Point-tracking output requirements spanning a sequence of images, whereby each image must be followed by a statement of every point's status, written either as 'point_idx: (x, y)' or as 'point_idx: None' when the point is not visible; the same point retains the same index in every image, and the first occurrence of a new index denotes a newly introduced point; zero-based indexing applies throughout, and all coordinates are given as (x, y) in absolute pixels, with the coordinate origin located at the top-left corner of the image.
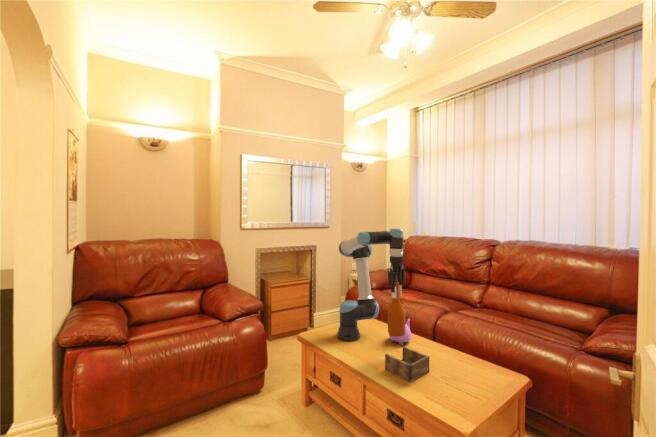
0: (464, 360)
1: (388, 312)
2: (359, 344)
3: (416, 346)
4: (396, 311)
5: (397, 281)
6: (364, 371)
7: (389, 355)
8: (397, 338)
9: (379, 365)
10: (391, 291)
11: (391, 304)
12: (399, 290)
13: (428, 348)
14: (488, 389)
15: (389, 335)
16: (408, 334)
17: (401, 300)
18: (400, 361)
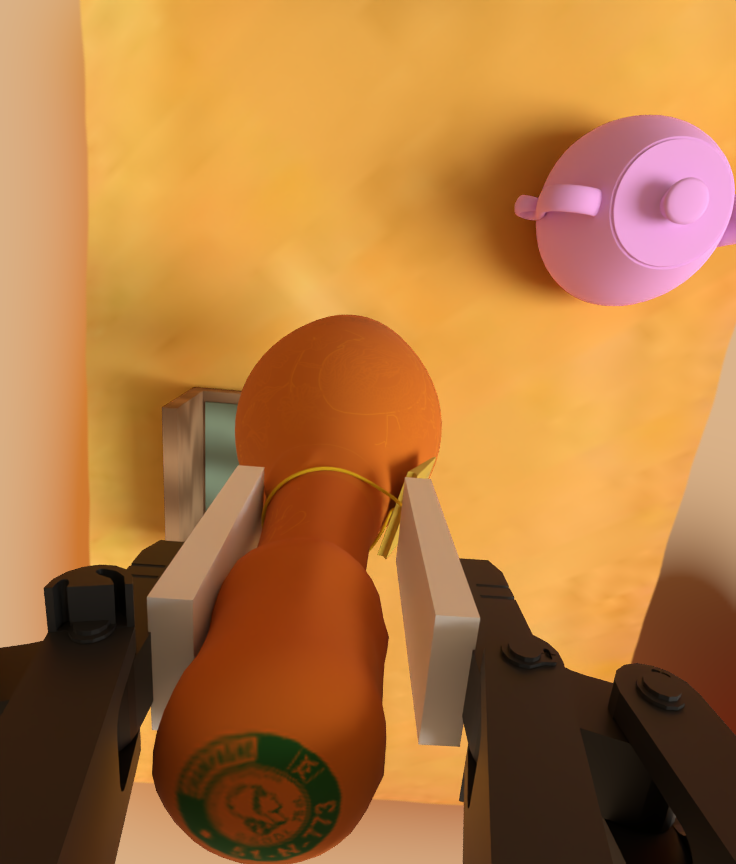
0: (584, 610)
1: (251, 374)
2: (344, 19)
3: (590, 353)
4: None
5: (326, 828)
6: (90, 315)
7: (174, 432)
8: (542, 246)
9: (209, 334)
10: (150, 551)
11: (253, 433)
12: (407, 606)
13: (609, 420)
14: (393, 750)
15: (561, 157)
16: (619, 300)
17: (384, 550)
18: (165, 518)
